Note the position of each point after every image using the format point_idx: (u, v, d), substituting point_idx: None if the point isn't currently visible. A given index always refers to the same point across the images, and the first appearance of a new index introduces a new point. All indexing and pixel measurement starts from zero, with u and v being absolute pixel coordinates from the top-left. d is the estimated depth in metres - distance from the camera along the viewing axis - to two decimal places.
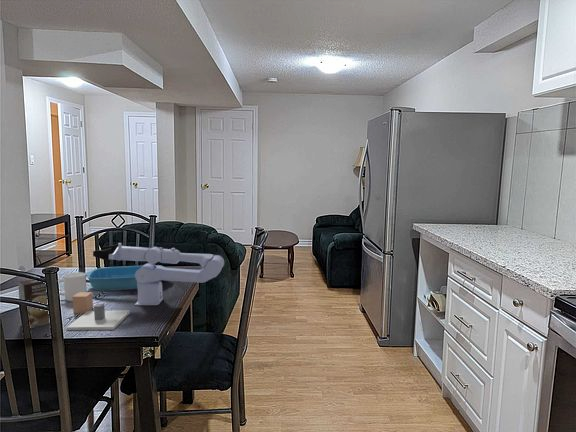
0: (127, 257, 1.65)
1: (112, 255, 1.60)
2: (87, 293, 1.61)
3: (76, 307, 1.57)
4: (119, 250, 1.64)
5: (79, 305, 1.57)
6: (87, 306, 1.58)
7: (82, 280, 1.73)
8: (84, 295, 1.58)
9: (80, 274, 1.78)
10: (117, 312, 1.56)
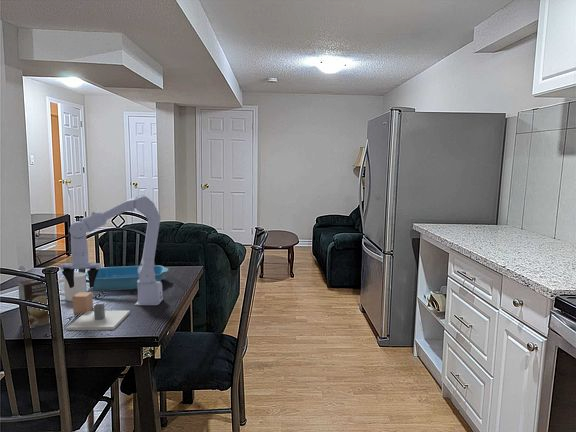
0: (87, 253, 1.59)
1: (98, 265, 1.58)
2: (87, 293, 1.61)
3: (76, 307, 1.57)
4: (84, 263, 1.56)
5: (79, 305, 1.57)
6: (87, 306, 1.58)
7: (82, 280, 1.73)
8: (84, 295, 1.58)
9: (80, 274, 1.78)
10: (117, 312, 1.56)
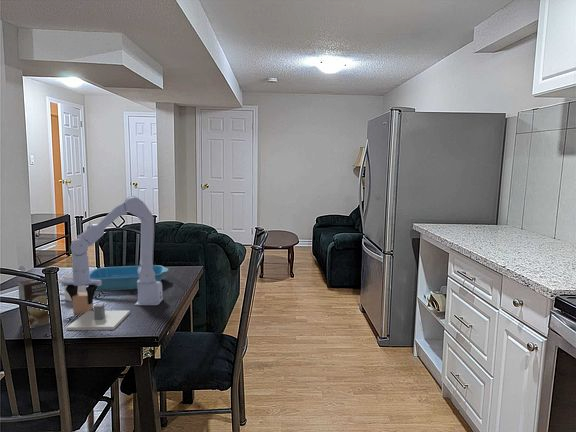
0: None
1: (99, 282, 1.58)
2: None
3: (76, 307, 1.57)
4: (85, 280, 1.57)
5: (79, 305, 1.57)
6: (87, 306, 1.58)
7: None
8: (84, 295, 1.58)
9: None
10: (117, 312, 1.56)
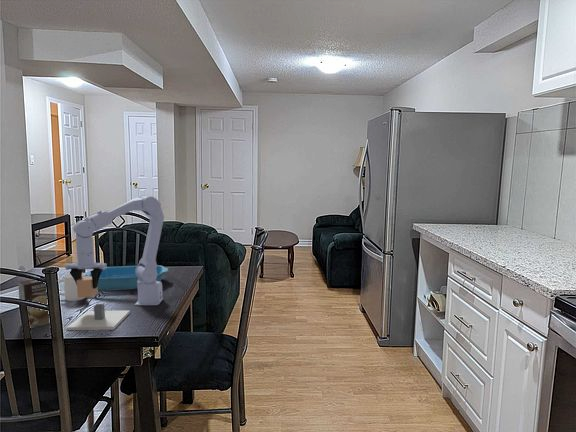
0: (93, 253, 1.55)
1: (104, 265, 1.54)
2: None
3: (80, 291, 1.53)
4: (90, 263, 1.53)
5: (83, 289, 1.53)
6: (91, 290, 1.53)
7: None
8: (89, 279, 1.53)
9: None
10: (117, 312, 1.56)
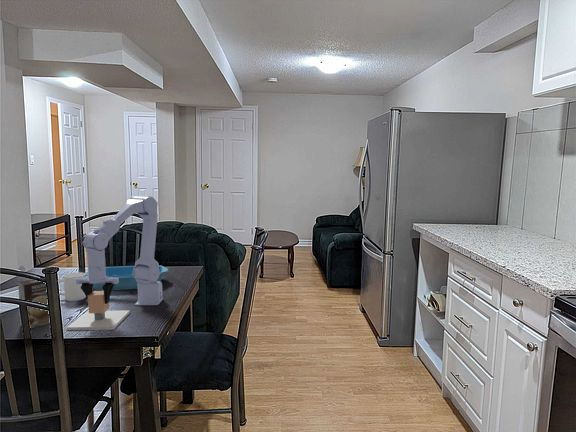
0: (105, 267, 1.48)
1: (117, 279, 1.47)
2: (103, 292, 1.50)
3: (92, 307, 1.46)
4: (102, 278, 1.46)
5: (94, 305, 1.46)
6: (103, 305, 1.47)
7: None
8: (100, 294, 1.47)
9: (80, 274, 1.78)
10: (117, 312, 1.56)
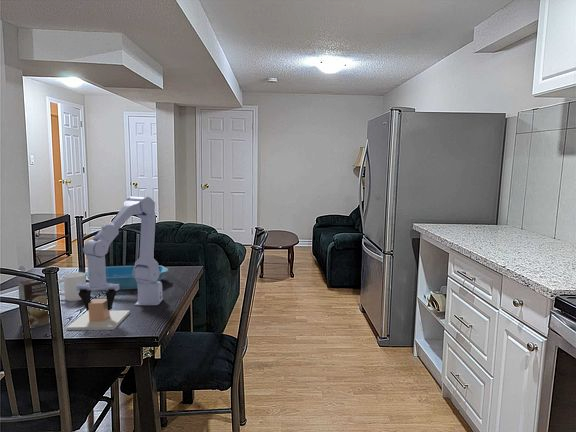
0: (105, 274, 1.49)
1: (117, 286, 1.48)
2: (104, 299, 1.50)
3: (92, 315, 1.47)
4: (102, 284, 1.46)
5: (95, 313, 1.47)
6: (103, 313, 1.47)
7: (82, 280, 1.73)
8: (101, 302, 1.47)
9: (80, 274, 1.78)
10: (117, 312, 1.56)
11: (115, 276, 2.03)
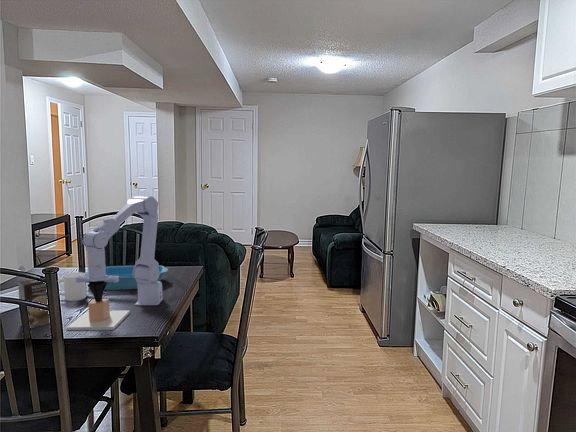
0: None
1: (117, 278, 1.47)
2: (104, 299, 1.50)
3: (92, 315, 1.47)
4: (102, 276, 1.46)
5: (95, 313, 1.47)
6: (103, 313, 1.47)
7: None
8: (101, 302, 1.47)
9: (80, 274, 1.78)
10: (117, 312, 1.56)
11: None
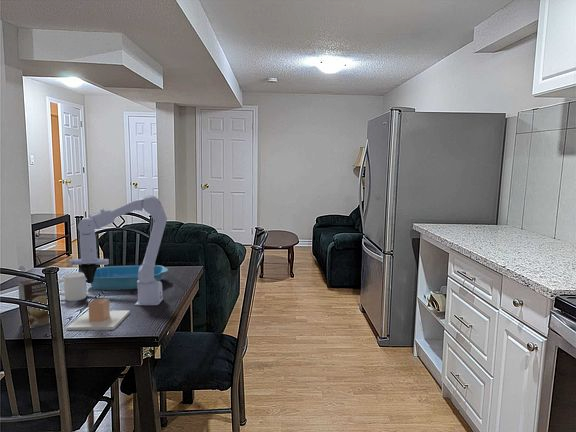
0: (96, 249, 1.62)
1: (107, 261, 1.61)
2: (104, 299, 1.50)
3: (92, 315, 1.47)
4: (93, 259, 1.59)
5: (95, 313, 1.47)
6: (103, 313, 1.47)
7: (82, 280, 1.73)
8: (101, 302, 1.47)
9: (80, 274, 1.78)
10: (117, 312, 1.56)
11: (116, 276, 2.03)
